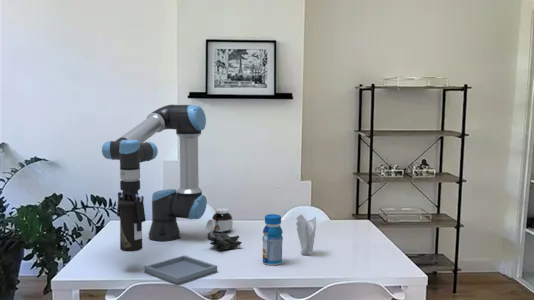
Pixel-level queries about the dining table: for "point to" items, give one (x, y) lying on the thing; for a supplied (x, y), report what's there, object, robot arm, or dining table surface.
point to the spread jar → (220, 222)
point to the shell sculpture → (306, 234)
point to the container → (128, 227)
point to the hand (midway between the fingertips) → (131, 236)
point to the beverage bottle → (272, 240)
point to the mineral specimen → (223, 241)
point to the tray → (180, 269)
